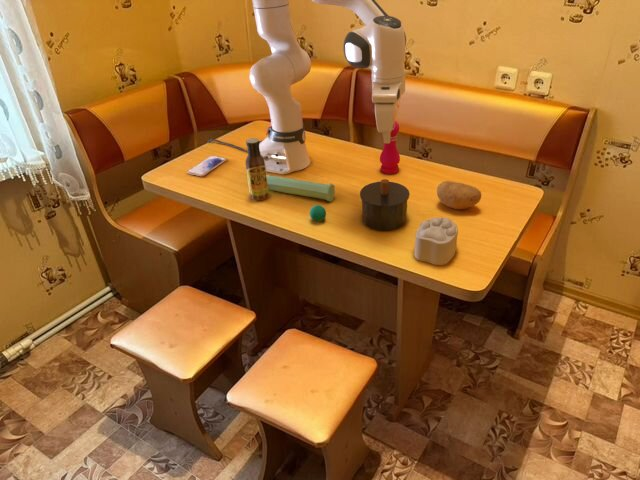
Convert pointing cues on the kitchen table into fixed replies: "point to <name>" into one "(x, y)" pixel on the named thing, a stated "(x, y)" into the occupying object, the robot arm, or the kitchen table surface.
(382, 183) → the pot lid
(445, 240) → the lumpy-topped squat cylinder
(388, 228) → the pot
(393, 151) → the pepper mill
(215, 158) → the smartphone
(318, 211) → the ball
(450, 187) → the potato
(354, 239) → the kitchen table surface
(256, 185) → the sauce bottle
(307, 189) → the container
